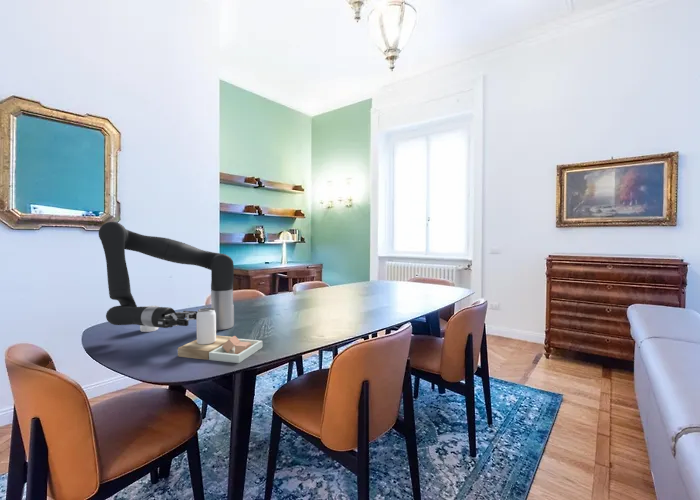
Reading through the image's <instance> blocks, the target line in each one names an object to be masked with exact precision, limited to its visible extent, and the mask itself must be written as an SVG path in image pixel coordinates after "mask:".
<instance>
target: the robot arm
mask: <svg viewBox="0 0 700 500" xmlns="http://www.w3.org/2000/svg"><path fill="white" fill-rule="evenodd" d="M98 238H99V240H100V242H101V244H102V247H103V251H104V252H103V253H104V255H105V262H106V274H107V275H106V276H107V287H108V295H109V299H110V300H114V301H118V303H119V305H115V306H111V307H110V308H109V309H108V310H107V311H106V312H105V313H106V314H105V318H106V321H108V323H109V324H110V325H114V326H129V325H136V326H137V325H138V326H140V325H144V326H150V327H158V328H161V329H162V328H163V329H169V328H173V327H177V326H181V327H182V326H183V327H188V326H189V322H190V321H191V320H192V321H194V320H196V315H197V312H198V310H197V311H194V310H183V311H175V310H174V308H172V307H165V306H164V307H163V306H159V307H144V306H138V305H137V304H136V301H135V298H134V296H133V293H132V289H131V282H130V275H129V270H128V265H127V261H126V251H125V250H127V251H133V252H136V253H137V252H138V253H140V254H143V255H147V256H149V257H153V258H156V259H158V260H163V261H167V262H170V263H175V264H181V265H189V266H197V267H201V268H204V269H207V270H210V271H211V272H210V273H211V274H210V275H211V280H210V299H211V300H210V303H211V305H210V308H214V311H215V313H216V331H221V330H229V329H232V328H234V325H235V305H234V280H235V279H234V274H235V272H234V270H235V269H234V261H233V259H232V257H230V256H229V255H227V254H226V253H221V252H213V251H208V250H204V249H200V248H197V247H195V246H193V245H192V244H191V245H190V244H188V243H185V242H182V241H179V240H176V239H171V238H169V237H161V236H152V235H146V234H145V235H144V234H141V233H137V232H134V231H131V230H128V229H126V228H125V227H124V225H123V224H121V223H119V222H116V221H108V222H105V223H103V224H101V226H100V228H99V230H98Z"/></svg>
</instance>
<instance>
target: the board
mask: <svg viewBox="0 0 700 500" xmlns="http://www.w3.org/2000/svg"><path fill="white" fill-rule="evenodd" d="M232 337H233V336H230V335H229V336H227V335H226V336H225V335H218V334H216V341H215V342H214V343H212V344H208V345H199V344H198V343H197V339H195V340H192V341H190V342H188V343H185V344H183V345H181V346H178V347H177V358H179V357H180V358H188V359H198V360H205V361H210V360H209V352H211V351H213V350H215V349H217V348H219V347H220V346H222V345H224V344H225V343H226V342H227V341H228V340H229V339H230V338H232Z"/></svg>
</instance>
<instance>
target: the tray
mask: <svg viewBox="0 0 700 500" xmlns="http://www.w3.org/2000/svg"><path fill="white" fill-rule="evenodd" d="M238 339H239V340H240V342H250V343H251V346H250V347H249V348H247V349H246V350H244V351H242V352H241V353H239V354H235V348H234V349H233V350H231V351H229V352H228V353H227V352H226V350H225V349H224V348H223V347H222V346H223V345H222V346H220V347H219V348H217V349H215V350H213V351H211V352H209V360H208V361H215V362H216V361H218V362H225V363H233V364H235V363H236V364H240V363H241V362H242V361H244V360H246V359H248V358H249V357H250V356H252V355H253V354H255V353H256V352H258V351H259V350H261V349H263V340H257V339H247V338H238Z"/></svg>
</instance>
